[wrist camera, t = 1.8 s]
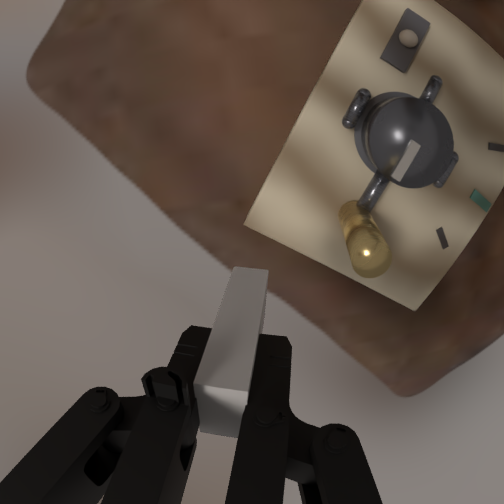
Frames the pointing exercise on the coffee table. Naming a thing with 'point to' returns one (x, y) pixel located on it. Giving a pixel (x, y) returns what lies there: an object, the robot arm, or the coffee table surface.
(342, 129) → the lever board
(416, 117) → the grey round handled piece
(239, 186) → the coffee table surface
